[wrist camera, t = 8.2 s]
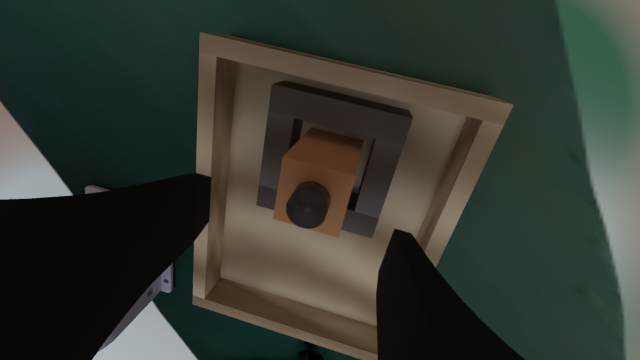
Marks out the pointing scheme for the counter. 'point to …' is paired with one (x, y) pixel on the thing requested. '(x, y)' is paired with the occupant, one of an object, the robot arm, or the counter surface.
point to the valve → (308, 355)
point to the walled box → (366, 196)
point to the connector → (317, 181)
